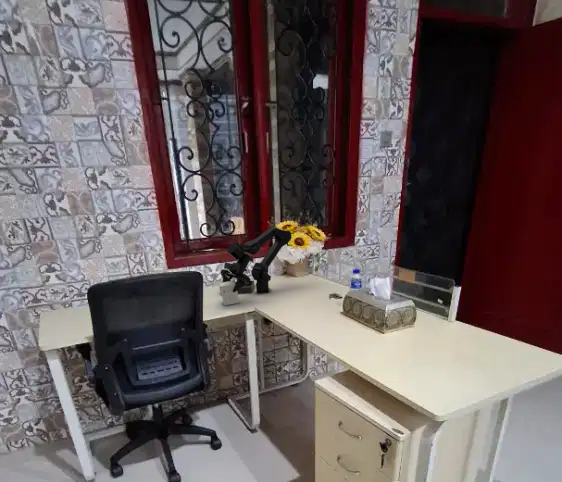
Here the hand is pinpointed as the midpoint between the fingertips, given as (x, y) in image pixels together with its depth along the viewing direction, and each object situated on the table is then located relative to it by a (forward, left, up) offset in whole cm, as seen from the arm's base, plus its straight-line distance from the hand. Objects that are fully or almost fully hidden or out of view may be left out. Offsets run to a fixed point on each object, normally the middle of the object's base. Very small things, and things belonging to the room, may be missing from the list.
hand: (227, 290), depth 214 cm
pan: (-1, -23, -7) cm, 24 cm away
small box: (-1, -1, -7) cm, 7 cm away
